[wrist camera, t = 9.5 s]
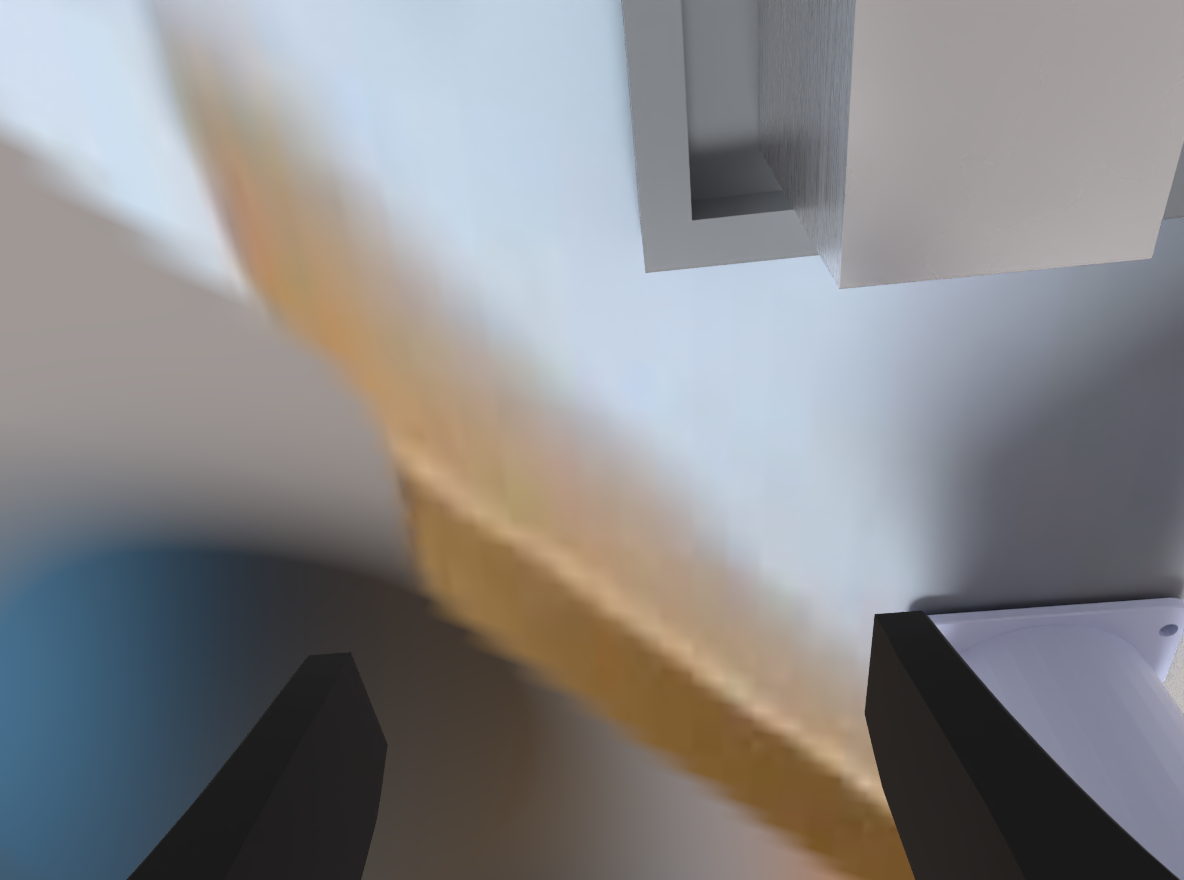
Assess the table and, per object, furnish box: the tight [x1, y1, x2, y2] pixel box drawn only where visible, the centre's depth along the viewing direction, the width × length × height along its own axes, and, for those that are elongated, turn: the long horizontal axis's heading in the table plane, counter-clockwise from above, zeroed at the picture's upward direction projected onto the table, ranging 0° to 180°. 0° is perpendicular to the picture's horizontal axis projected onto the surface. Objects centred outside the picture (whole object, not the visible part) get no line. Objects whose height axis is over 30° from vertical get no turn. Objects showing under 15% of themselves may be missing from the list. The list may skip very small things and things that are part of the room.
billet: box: [758, 0, 1184, 289], centre depth 13 cm, size 5×4×7 cm
